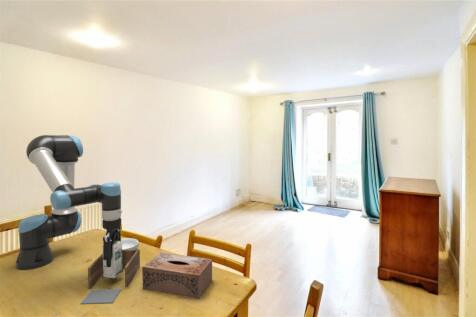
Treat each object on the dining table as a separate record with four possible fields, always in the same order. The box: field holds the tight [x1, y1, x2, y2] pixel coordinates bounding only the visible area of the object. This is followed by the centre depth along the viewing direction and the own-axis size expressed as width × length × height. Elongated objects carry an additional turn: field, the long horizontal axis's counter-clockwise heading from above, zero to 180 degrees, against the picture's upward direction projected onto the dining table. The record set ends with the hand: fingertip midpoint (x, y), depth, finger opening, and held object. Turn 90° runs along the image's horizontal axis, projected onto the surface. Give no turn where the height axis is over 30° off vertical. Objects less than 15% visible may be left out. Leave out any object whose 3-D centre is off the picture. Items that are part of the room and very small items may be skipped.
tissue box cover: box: [141, 252, 213, 300], centre depth 114 cm, size 26×14×10 cm, turn 75°
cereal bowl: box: [121, 237, 140, 250], centre depth 142 cm, size 17×17×7 cm
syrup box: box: [101, 240, 124, 279], centre depth 117 cm, size 6×6×14 cm
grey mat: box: [79, 288, 122, 305], centre depth 105 cm, size 12×9×1 cm
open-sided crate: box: [87, 248, 141, 290], centre depth 120 cm, size 16×18×9 cm
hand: (113, 269), depth 117 cm, fingers closed on syrup box, 7 cm apart
